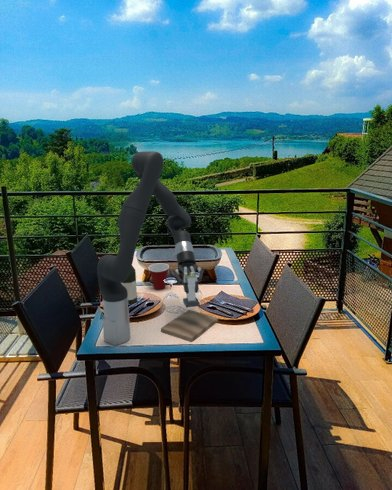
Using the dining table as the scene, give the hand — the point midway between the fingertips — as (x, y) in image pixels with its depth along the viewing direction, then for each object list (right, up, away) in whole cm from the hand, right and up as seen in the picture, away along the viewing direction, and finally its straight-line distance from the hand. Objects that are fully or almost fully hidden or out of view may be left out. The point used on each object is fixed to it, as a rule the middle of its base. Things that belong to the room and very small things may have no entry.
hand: (192, 292), depth 145 cm
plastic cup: (-18, -4, +46) cm, 49 cm away
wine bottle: (-30, -10, +26) cm, 41 cm away
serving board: (-1, -15, +5) cm, 15 cm away
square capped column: (0, -5, +4) cm, 6 cm away
